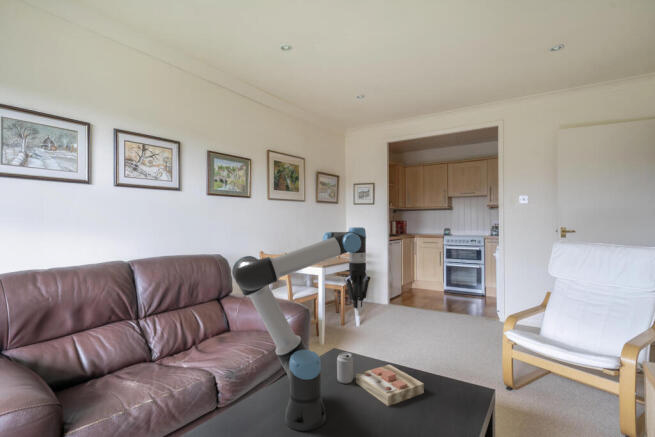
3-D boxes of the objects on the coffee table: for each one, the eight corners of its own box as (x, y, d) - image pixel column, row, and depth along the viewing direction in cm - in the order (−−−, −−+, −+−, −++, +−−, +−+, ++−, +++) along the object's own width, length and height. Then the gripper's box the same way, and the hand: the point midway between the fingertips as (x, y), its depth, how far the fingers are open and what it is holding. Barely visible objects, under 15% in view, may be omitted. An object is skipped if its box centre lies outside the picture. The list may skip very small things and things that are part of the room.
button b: (388, 384, 141) (388, 376, 141) (381, 380, 145) (381, 372, 145) (395, 382, 143) (395, 373, 143) (389, 378, 147) (389, 370, 147)
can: (353, 384, 147) (353, 358, 147) (337, 384, 147) (337, 357, 147) (352, 376, 155) (352, 351, 155) (337, 376, 155) (336, 351, 155)
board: (387, 406, 130) (387, 394, 130) (356, 383, 149) (356, 373, 149) (423, 392, 140) (423, 382, 140) (389, 372, 159) (389, 363, 159)
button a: (399, 395, 135) (399, 386, 135) (392, 390, 139) (392, 382, 139) (407, 392, 137) (407, 383, 137) (400, 388, 141) (400, 379, 141)
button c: (378, 381, 147) (378, 373, 147) (372, 377, 151) (372, 369, 151) (385, 378, 149) (385, 370, 149) (379, 375, 153) (379, 367, 153)
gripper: (350, 263, 138) (350, 319, 138) (374, 261, 145) (374, 314, 144) (340, 262, 145) (340, 315, 144) (364, 260, 151) (364, 311, 151)
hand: (357, 315), depth 144 cm, fingers closed
